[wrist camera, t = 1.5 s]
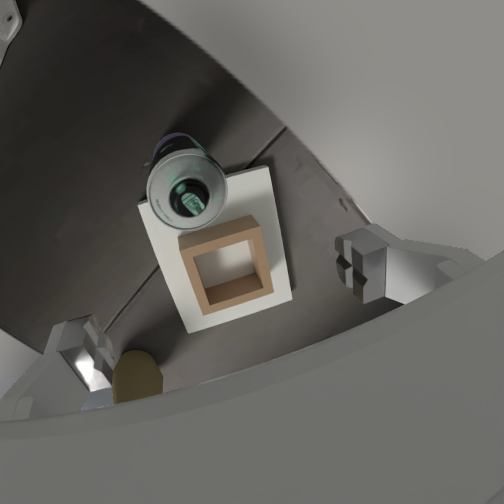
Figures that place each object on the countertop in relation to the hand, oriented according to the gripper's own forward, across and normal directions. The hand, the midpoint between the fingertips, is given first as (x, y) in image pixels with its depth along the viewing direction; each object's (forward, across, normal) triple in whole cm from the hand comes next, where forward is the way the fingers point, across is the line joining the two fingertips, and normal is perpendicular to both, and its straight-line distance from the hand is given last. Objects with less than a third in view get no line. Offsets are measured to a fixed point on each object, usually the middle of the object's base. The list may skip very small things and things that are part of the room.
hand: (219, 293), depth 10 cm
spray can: (+30, 0, 0) cm, 30 cm away
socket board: (+30, -2, +14) cm, 33 cm away
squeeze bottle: (+30, +16, +28) cm, 44 cm away
